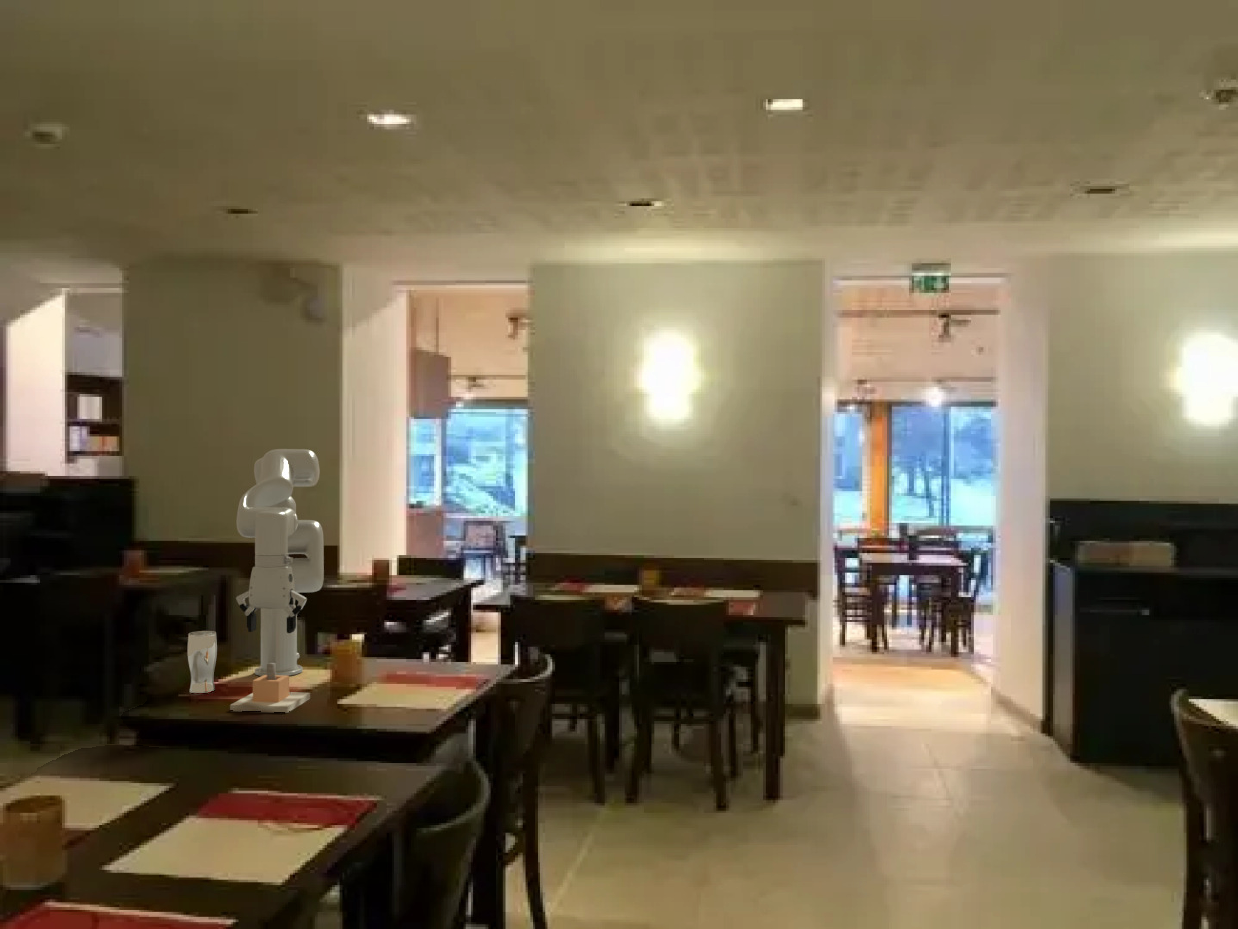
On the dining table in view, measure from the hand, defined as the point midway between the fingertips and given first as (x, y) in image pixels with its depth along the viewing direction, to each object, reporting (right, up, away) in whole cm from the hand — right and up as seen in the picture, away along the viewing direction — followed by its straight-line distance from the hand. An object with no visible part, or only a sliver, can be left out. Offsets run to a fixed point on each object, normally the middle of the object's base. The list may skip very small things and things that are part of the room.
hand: (271, 631), depth 255 cm
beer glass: (-22, -18, +13) cm, 31 cm away
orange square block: (0, -16, 0) cm, 16 cm away
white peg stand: (0, -18, 0) cm, 18 cm away
